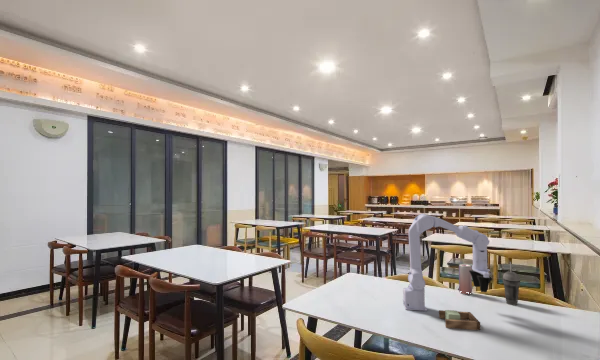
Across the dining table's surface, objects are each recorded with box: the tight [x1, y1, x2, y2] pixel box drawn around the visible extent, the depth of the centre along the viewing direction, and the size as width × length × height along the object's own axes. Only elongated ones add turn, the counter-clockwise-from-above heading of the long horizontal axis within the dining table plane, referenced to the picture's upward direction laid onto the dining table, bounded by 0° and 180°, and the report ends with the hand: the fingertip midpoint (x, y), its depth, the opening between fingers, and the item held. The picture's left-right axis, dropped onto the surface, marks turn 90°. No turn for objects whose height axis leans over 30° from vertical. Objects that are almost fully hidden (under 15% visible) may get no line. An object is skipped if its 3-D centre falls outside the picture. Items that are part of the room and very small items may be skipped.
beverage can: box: [458, 263, 473, 296], centre depth 166 cm, size 6×6×15 cm
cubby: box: [438, 309, 481, 331], centre depth 129 cm, size 13×10×3 cm
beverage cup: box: [502, 261, 521, 306], centre depth 152 cm, size 7×7×20 cm
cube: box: [444, 309, 460, 320], centre depth 130 cm, size 4×4×4 cm
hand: (480, 289), depth 142 cm, fingers open, 7 cm apart
